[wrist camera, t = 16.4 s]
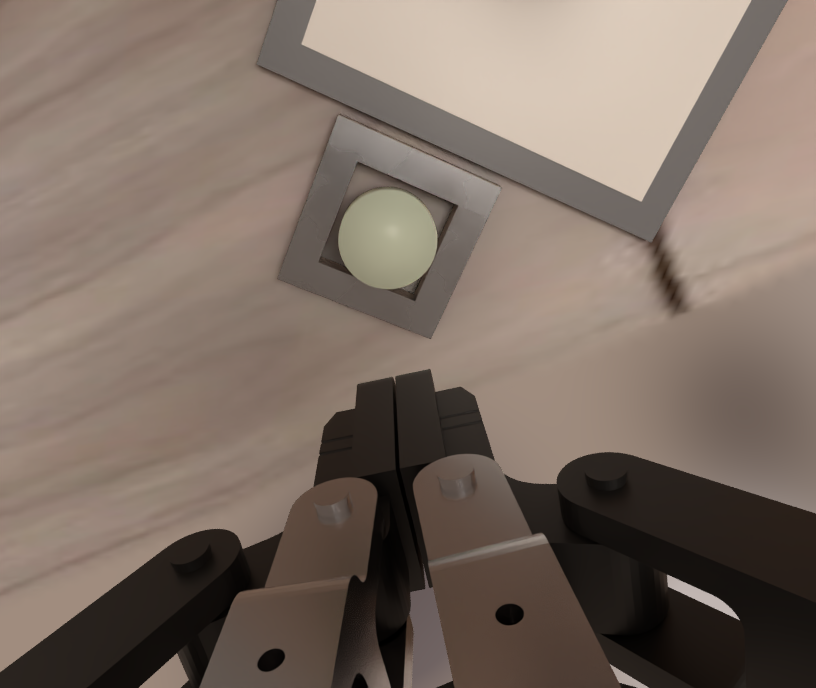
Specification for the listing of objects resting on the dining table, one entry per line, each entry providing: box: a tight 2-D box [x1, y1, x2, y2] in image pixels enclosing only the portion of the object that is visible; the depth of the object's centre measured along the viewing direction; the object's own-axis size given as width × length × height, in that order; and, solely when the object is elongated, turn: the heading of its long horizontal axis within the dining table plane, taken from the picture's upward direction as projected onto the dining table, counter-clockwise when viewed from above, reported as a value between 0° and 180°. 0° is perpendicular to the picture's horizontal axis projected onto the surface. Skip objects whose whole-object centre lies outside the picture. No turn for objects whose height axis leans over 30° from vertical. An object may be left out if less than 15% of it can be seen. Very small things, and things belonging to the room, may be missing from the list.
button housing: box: [277, 114, 502, 339], centre depth 31 cm, size 8×8×1 cm
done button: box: [338, 187, 437, 289], centre depth 30 cm, size 4×4×1 cm
